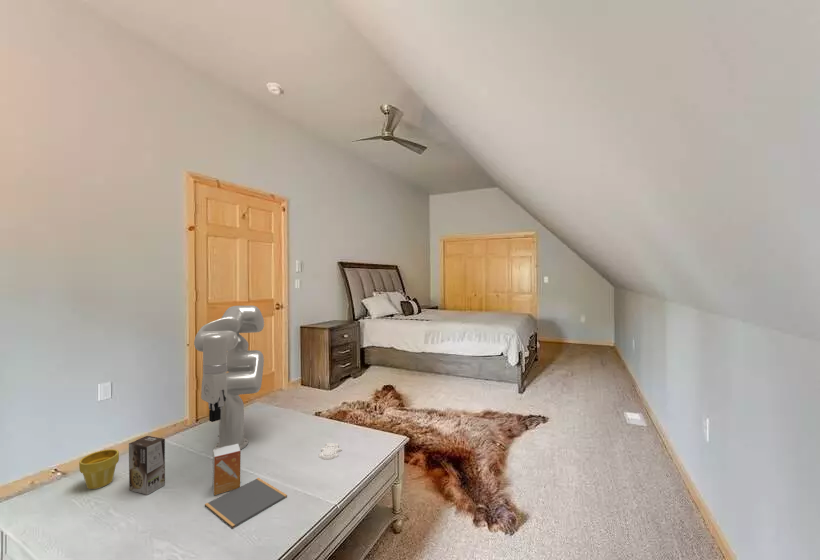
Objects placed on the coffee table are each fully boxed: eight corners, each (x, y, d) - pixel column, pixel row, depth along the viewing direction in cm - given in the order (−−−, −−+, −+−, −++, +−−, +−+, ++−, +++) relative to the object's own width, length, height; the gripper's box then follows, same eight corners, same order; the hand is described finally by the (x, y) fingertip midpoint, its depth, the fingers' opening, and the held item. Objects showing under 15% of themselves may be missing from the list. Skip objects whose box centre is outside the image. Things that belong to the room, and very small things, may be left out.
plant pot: (73, 496, 115) (73, 466, 115) (86, 479, 124) (86, 452, 124) (113, 488, 119) (113, 459, 119) (123, 473, 129) (122, 446, 129)
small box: (213, 496, 115) (213, 456, 115) (212, 486, 120) (212, 449, 120) (240, 488, 119) (240, 450, 119) (238, 479, 125) (238, 442, 125)
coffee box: (166, 484, 121) (166, 438, 121) (146, 495, 115) (146, 447, 115) (147, 479, 124) (147, 434, 124) (128, 490, 118) (127, 442, 118)
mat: (204, 506, 110) (204, 503, 110) (258, 479, 124) (258, 477, 124) (232, 528, 100) (232, 526, 100) (287, 497, 114) (287, 494, 114)
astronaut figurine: (344, 446, 149) (344, 439, 149) (335, 461, 138) (335, 453, 138) (324, 445, 150) (325, 438, 150) (314, 460, 138) (314, 452, 138)
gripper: (194, 368, 126) (194, 419, 125) (214, 374, 117) (214, 429, 117) (215, 364, 132) (215, 412, 131) (236, 369, 123) (236, 421, 123)
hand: (215, 420), depth 124 cm, fingers closed
